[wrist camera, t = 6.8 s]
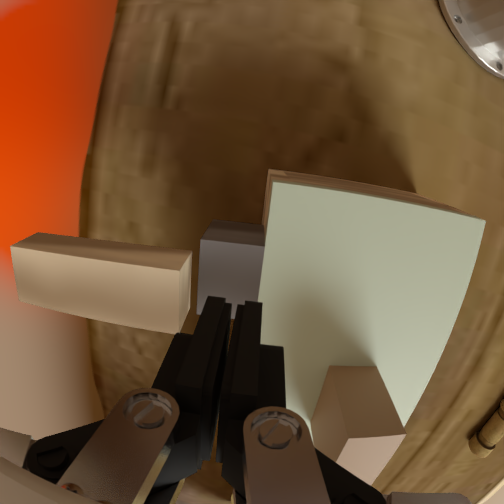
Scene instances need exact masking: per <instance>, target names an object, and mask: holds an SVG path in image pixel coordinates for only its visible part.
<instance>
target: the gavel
mask: <svg viewBox="0 0 504 504" xmlns="http://www.w3.org/2000/svg"><path fill="white" fill-rule="evenodd" d="M500 406H501V407H500V408H498V409H497V410H496V412H495V413H494V414H493V415H492V417H491V418H490V419H489V420H488V422H487V423H486V424H485V425H484V426H483V428H482V429H481V431H480V432H476V433H475V434H474V436H473V437H472V438H471V439H470V440H469V447H470V450H471V451H472V452H473V453H474V454H475V455H476V456H478V457H481V458H485V457H487V456H488V455H489V453H490V452H491V451H492V450H493V449H494V448H495V444H496V443H497V442H498V441H499V440H500V439H501V438H502V437H503V436H504V398H503V400H502V401H501V402H500Z"/></svg>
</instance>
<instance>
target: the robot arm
mask: <svg viewBox="0 0 504 504" xmlns="http://www.w3.org/2000/svg"><path fill="white" fill-rule="evenodd" d="M439 4H440V8H441V10H442V13H443V15H444V17H445V20H446V22H447V23H448V25H449V27H450V29H451V31H452V32H453V34H454V35H455V37H456V38H457V40H458V41H459V43H460V44H461V45H462V47H463V48H464V49H465V50H466V51H467V53H468V54H469V55H470V56H471V57H472V58H473V59H474V60H475V61H476V62H477V63H478V64H479V65H481V66H482V67H483V68H484V69H486V70H487V71H488V72H490V73H492V74H493V75H495V76H497V77H500V78H503V79H504V0H439ZM262 306H263V302H255V301H246V300H245V304H244V305H241V304H237V309H236V314H235V319H234V325H233V330H232V335H231V340H230V345H229V350H228V343H229V332H230V322H231V311H232V303H226V298H223V297H216V296H208V297H207V299H206V302H205V304H204V307H203V310H202V312H201V315H200V318H199V320H198V323H197V326H196V328H195V331H194V334H193V335H191V334H185V333H178V332H177V333H176V334H175V336H174V338H173V340H172V342H171V345H170V347H169V349H168V351H167V354H166V356H165V358H164V360H163V363H162V365H161V367H160V369H159V372H158V374H157V376H156V378H155V381H154V383H153V385H152V388H140V389H136V390H132V391H130V392H128V393H126V394H125V395H124V396H123V397H122V398H121V399H120V400H119V401H118V402H117V404H116V405H115V406H114V408H113V409H112V410H111V412H110V413H109V414H108V416H107V417H106V418H105V419H103V420H100V421H97V422H94V423H91V424H88V425H85V426H82V427H78V428H75V429H72V430H68V431H65V432H61V433H58V434H55V435H51V436H47V437H44V438H42V439H39V440H34V439H33V438H32V436H30V435H26V434H22V433H18V432H14V431H10V430H7V429H3V428H0V504H175V502H176V500H177V498H178V496H179V493H180V491H181V489H182V487H183V484H184V480H185V478H186V477H188V476H190V475H192V474H194V473H196V472H197V469H200V470H201V465H202V460H207V461H210V457H211V452H212V447H213V441H214V436H215V430H216V425H217V419H218V414H219V421H218V436H217V451H216V462H220V463H223V465H222V475H221V476H222V477H223V478H224V479H225V480H226V481H227V482H228V483H229V484H230V485H231V486H232V487H233V500H234V504H471V502H470V501H469V500H468V498H467V497H465V496H463V495H462V494H458V493H404V492H391V493H390V495H383V494H381V493H380V492H379V491H377V490H376V489H375V488H373V487H372V486H370V485H369V484H367V483H366V482H364V481H362V480H361V479H359V478H358V477H356V476H355V475H353V474H352V473H350V472H349V471H347V470H346V469H344V468H343V467H342V466H340V465H339V464H337V463H336V462H334V461H333V460H331V459H330V458H329V457H327V456H326V455H324V454H323V453H322V452H320V451H319V450H318V449H316V448H315V447H314V445H313V441H312V438H311V435H310V431H309V428H308V426H307V424H306V422H305V420H304V419H303V418H302V417H301V416H300V415H299V414H297V413H295V412H293V411H292V410H289V409H286V388H285V364H284V347H283V346H274V345H265V344H260V343H261V325H262ZM227 355H228V356H227Z"/></svg>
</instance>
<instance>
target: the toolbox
mask: <svg viewBox="0 0 504 504" xmlns="http://www.w3.org/2000/svg"><path fill="white" fill-rule="evenodd" d="M272 179H274V180H282V181H289V182H297V183H304V184H311V185H318V186H325V187H331V188H338V189H344V190H350V191H356V192H362V193H367V194H373V195H379V196H384V197H389V198H395V199H400V200H405V201H410V202H415V203H420V204H424V205H429V206H434V207H438V208H443V209H447V210H451V211H456V212H460V213H464V214H468V213H466V212H464V211H461V210H459V209H456V208H454V207H451V206H449V205H446V204H443V203H441V202H438V201H436V200H433V199H430V198H428V197H425V196H422V195H419V194H416V193H412V192H407V191H402V190H397V189H392V188H387V187H382V186H377V185H372V184H366V183H361V182H355V181H349V180H343V179H337V178H331V177H325V176H318V175H312V174H305V173H298V172H290V171H283V170H275V169H268V176H267V184H266V192H265V201H264V209H263V217H262V225H260V224H251V223H242V222H233V221H224V220H215V219H213V221H212V222H211V224H210V225H209V227H208V228H207V230H206V232H205V233H204V235H203V236H202V238H201V240H200V256H199V274H198V294H197V314H198V315H201V312H202V310H203V307H204V304H205V302H206V299H207V297H208V296H216V297H223V298H226V303H232V311H231V319H235V314H236V309H237V304H241V305H244V304H245V300H246V301H255V302H258V296H259V288H260V281H261V273H262V266H263V258H264V250H265V233H266V225H267V217H268V209H269V202H270V193H271V185H272ZM468 215H471V214H468Z"/></svg>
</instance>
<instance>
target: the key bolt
mask: <svg viewBox="0 0 504 504" xmlns="http://www.w3.org/2000/svg"><path fill="white" fill-rule="evenodd" d="M10 247H11V255H12V262H13V269H14V275H15V281H16V287H17V292H18V297H19V301H22V302H25V303H29V304H32V305H36V306H40V307H44V308H48V309H52V310H56V311H60V312H64V313H68V314H73V315H77V316H81V317H86V318H90V319H95V320H100V321H105V322H109V323H114V324H119V325H125V326H130V327H135V328H141V329H146V330H152V331H158V332H164V333H170V334H176V333H177V332H178V333H180V331H181V328H182V326H183V323H184V321H185V318H186V316H187V314H188V311H189V309H190V290H191V266H192V251H190V250H181V249H173V248H164V247H156V246H147V245H139V244H130V243H122V242H114V241H105V240H97V239H89V238H81V237H72V236H63V235H55V234H48V233H39V232H38V233H36V234H33V235H32V236H30V237H28V238H25V239H24V240H22V241H19V242H18V243H16V244H14V245H12V246H10Z"/></svg>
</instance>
